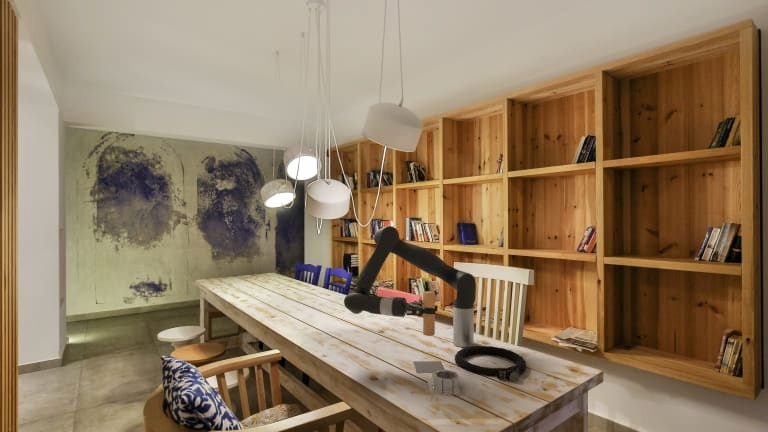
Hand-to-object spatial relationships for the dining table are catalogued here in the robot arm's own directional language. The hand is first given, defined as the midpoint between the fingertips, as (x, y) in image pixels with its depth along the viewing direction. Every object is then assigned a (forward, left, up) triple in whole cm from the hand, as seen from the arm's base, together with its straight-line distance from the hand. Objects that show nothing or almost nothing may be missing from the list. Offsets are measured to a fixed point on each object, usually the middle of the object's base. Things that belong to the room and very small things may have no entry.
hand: (436, 309), depth 143 cm
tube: (-1, -3, -9) cm, 10 cm away
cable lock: (-4, +22, -24) cm, 33 cm away
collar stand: (+16, 0, -23) cm, 28 cm away
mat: (-1, -3, -23) cm, 23 cm away
